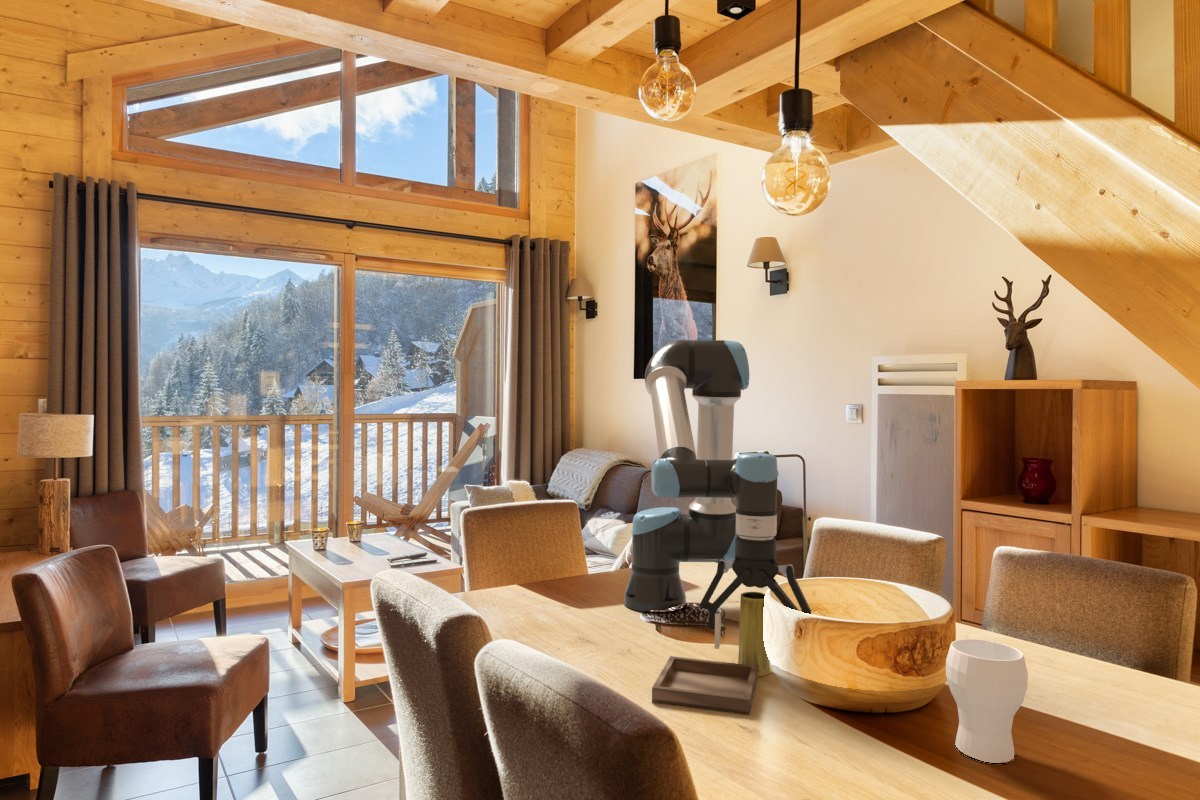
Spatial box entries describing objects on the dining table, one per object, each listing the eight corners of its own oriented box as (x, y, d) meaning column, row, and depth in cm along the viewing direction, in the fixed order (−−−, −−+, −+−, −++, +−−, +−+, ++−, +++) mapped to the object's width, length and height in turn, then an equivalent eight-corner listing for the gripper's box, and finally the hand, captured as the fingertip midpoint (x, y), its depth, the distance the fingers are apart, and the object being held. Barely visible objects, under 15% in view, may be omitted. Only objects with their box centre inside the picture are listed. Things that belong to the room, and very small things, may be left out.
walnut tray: (670, 669, 142) (670, 656, 142) (757, 679, 137) (757, 665, 137) (651, 702, 127) (652, 687, 127) (749, 715, 122) (749, 699, 122)
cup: (930, 736, 115) (932, 638, 115) (997, 734, 116) (998, 637, 116) (970, 771, 105) (972, 662, 105) (1043, 768, 106) (1045, 661, 106)
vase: (772, 668, 143) (773, 592, 143) (768, 679, 138) (769, 601, 138) (739, 663, 145) (740, 589, 145) (734, 674, 140) (735, 597, 140)
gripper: (685, 535, 141) (684, 649, 141) (825, 544, 134) (824, 664, 134) (692, 529, 148) (690, 637, 148) (825, 537, 141) (823, 651, 141)
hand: (754, 650), depth 141 cm, fingers open, 13 cm apart
